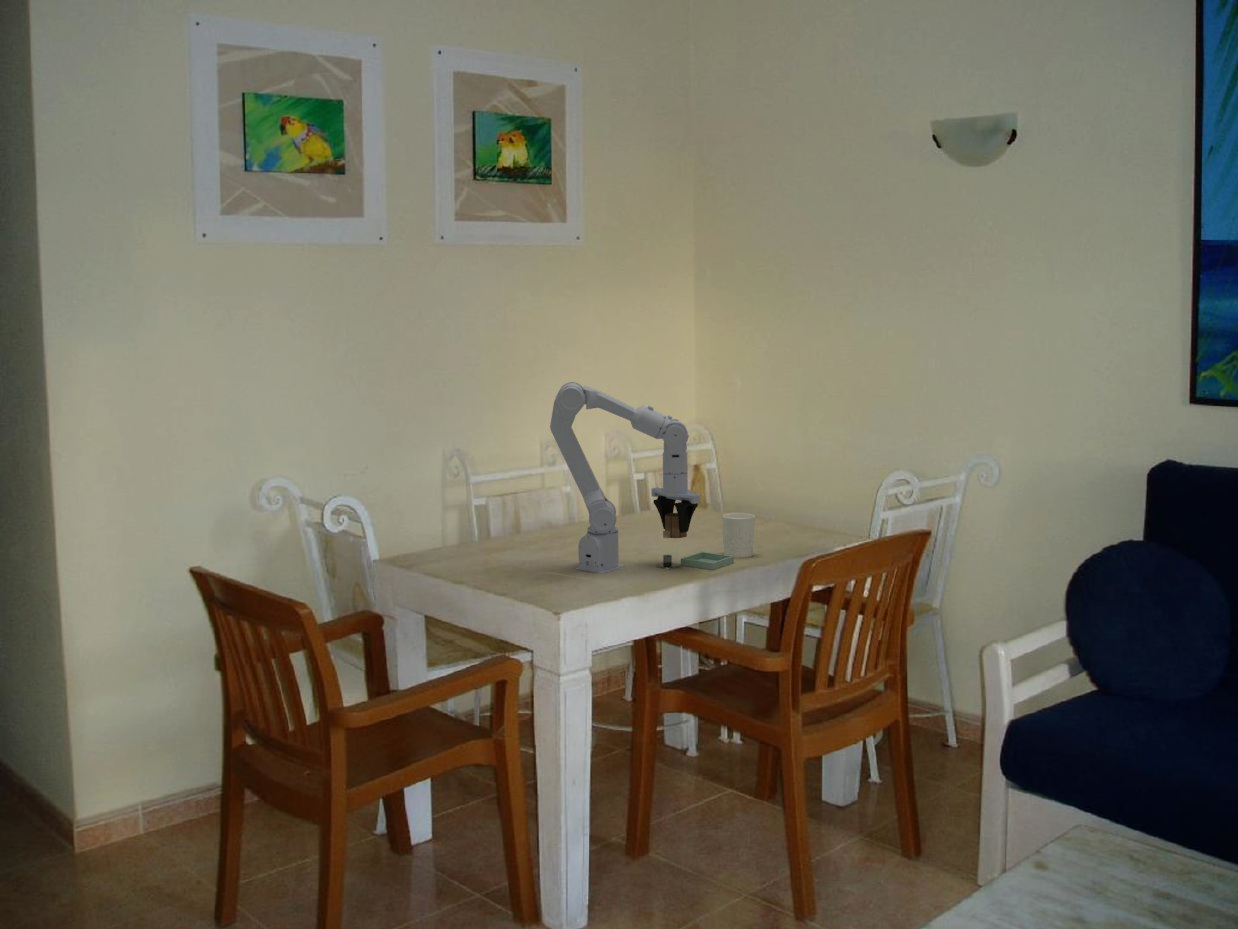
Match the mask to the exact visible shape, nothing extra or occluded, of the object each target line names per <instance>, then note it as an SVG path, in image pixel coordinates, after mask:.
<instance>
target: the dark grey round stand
mask: <svg viewBox="0 0 1238 929" xmlns="http://www.w3.org/2000/svg"><path fill="white" fill-rule="evenodd" d="M672 557H673V556H672V554H663V555H662V562H663V563H659V564H656V565H655V568H658V569H661V570H664V569H665V570H670V569H671V570H672V569H678V568H679V567H680V564H676V563H673V561H672V560H673V559H672Z"/></svg>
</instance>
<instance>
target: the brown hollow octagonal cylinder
mask: <svg viewBox="0 0 1238 929" xmlns="http://www.w3.org/2000/svg"><path fill="white" fill-rule="evenodd" d="M687 536H688V532H684V533H681V532H680V530H679V519H678V513H677V512H673V513H668V514H665V529H664V530H663V531H662V538H663V539H682V538H683V539H684V538H686V537H687Z"/></svg>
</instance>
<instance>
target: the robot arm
mask: <svg viewBox="0 0 1238 929" xmlns="http://www.w3.org/2000/svg"><path fill="white" fill-rule="evenodd" d="M553 401H554V402H553V406H552V411H551V412H552V413H551V420H550V426H549V429H550V432H551V434H552V435H553V438H554V440H555V442H556V444H557V447H558V448H559V450H560V452H561V455H562V457H563V459H564V461H565V463H566V465H567V467H568V469H569V471H570V473H571V476H572V478H573V480H574V482H575V484H576V486H577V489H578V490H579V492H580V494H581V496H582V498H583V501H584V504H585V507H586V509H587V512H588V523H589V526H588V527H587V530H586V531H587V532H586V533H585V535H584V536H582V537H581V538H580V540H579V542H578V567H576V568H575V569H576V570H578V571H585V572H591V573H597V574H605V573H609V572H613V571H615V570H618V569H621V568H625V567H627V564H623V563H620V561H619V558H620V556H619V554H620V553H619V528H618V527H617V526H616V524H617V509H616V507H615V504H614V503H612V501H610V500H609V499H608V498H607V497H606V495H605V493H604V491H603V490H602V488H601V487H600V484H599V482H598V480H597V478H596V476H595V474H594V472H593V470H592V468H591V466H590V463H589V460H588V459H587V457H586V455H585V453H584V451H583V449H582V447H581V444H580V443H579V440H578V438H577V437H576V434H575V431H574V430H573V427H572V426H573V424H574V422H575V420H576V419H575V418H576V416H577V415H578V414H579V412H580V411H581V410H582V409H583V407H584V405H585V409H586V410H593V409H600V410H603V411H606V412H608V413H610V414H613V415H615V416H618V417H619V418H620V417H621V418H623V419H625V420H627V421H629V422H630V424H631V426H632V427H631V428H632V429H634V430H636V431H638V432H640V433H642V434H645V435H647V436H649V437H652V438H654V439H656V440H660V439H662V441H663V452H662V487H652V488H651V489H650V490H651V497H653V498H654V497H657V498H656V499H653V505H654V506H655V508H656V509H657V511H658V514H659V517H660V520H661V523H662V528H663V530H665V514H668V513H674V510H676V513H678V519H679V530H680V532H681V533H684V532H687V533H689V529H690V525H691V521H692V518H693V515H694V513H695V511H696V509H697V508H698V506H699V504H701V494H698V493H695V492H692V491H691V489H689V488H688V487H689V486H688V484H689V483H688V473H689V472H688V470H689V469H688V468H689V467H688V466H689V465H688V452H687V450H688V445H687V442H688V440H689V431H688V430H687V427H686V426H685V424H684V423H683V422H682V421H680V420H679V419H677V418H673V416H671V415H669V414H668V415H667V416H666V415H664V414H663V413H660V412H657V411H655V410H654V409H655V408H654V407H653V406H651V405H648V406H647V407H646V406H645V405H641V406H638V407H636V408H635V407H633V406H631V405H629V404H628V403H625V402H623V401H621V400H620V399H617V398H615V397H613V396H611V395H610V394H607V393H605V392H603V391H601V390H598V389H595V388H592V387H590V386H586V385H583V386H582V385H581V384H580V383H579V382H574V381H569V382H566V383H563V385H562V386H560V388H559V390H558V393H557V394H556V396H555V399H554V400H553ZM677 501H680V502H677Z"/></svg>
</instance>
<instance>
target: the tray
mask: <svg viewBox="0 0 1238 929" xmlns="http://www.w3.org/2000/svg"><path fill="white" fill-rule="evenodd" d="M734 559H735V557H734V556H728V555H724V554H721V553H714V552H713V553H712V552H707V551H700V552H699V551H698V552H696V553H693V554H691V555H688V556H684V557H681V558H680V566H683V567H689V568H695V569H702V570H709V571H715V570H718V569H721V568H724V567H726V566H729V565H733V564H734V563H735V560H734Z"/></svg>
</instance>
